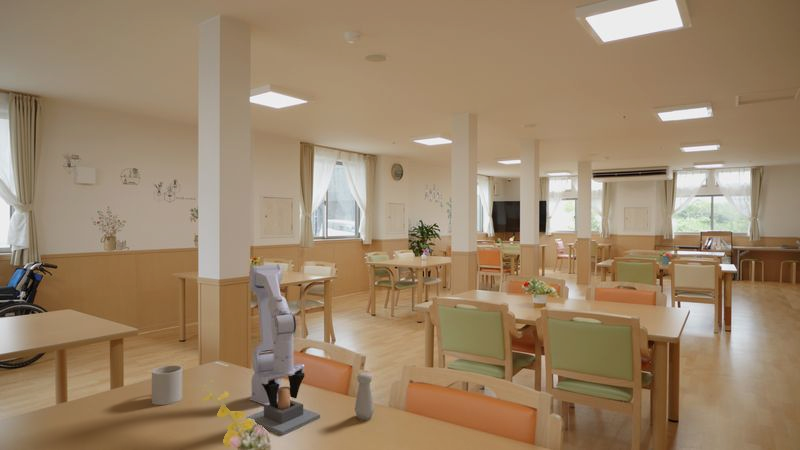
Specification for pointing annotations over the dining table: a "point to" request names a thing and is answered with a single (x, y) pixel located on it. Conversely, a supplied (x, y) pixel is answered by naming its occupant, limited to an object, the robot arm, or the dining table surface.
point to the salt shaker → (364, 397)
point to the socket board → (284, 417)
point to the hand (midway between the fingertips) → (283, 401)
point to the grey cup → (166, 385)
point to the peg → (283, 398)
